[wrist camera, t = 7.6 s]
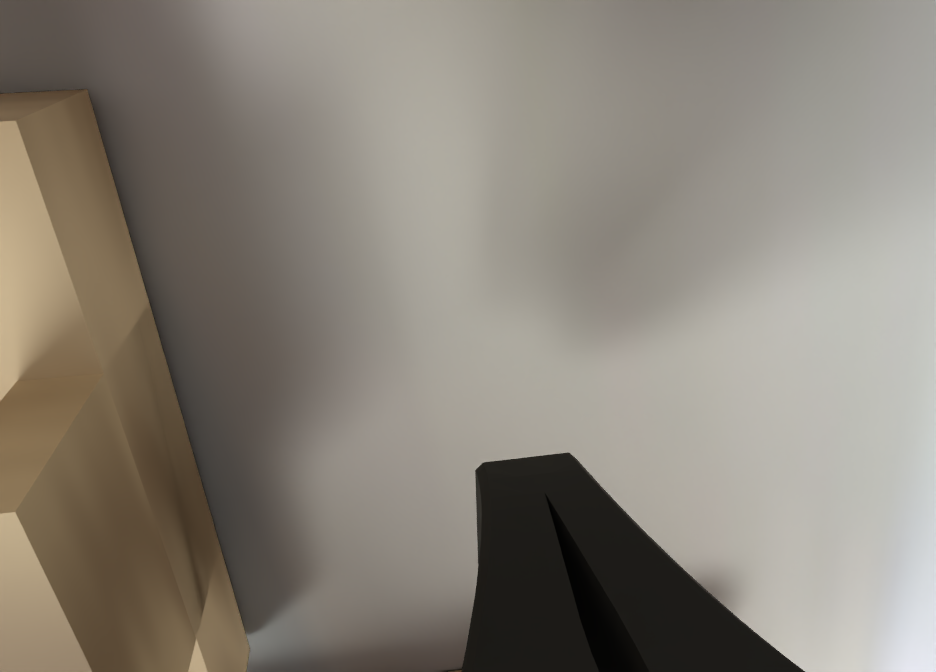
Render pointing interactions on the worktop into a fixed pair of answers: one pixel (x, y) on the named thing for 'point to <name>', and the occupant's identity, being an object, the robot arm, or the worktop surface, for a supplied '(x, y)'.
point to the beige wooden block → (92, 428)
